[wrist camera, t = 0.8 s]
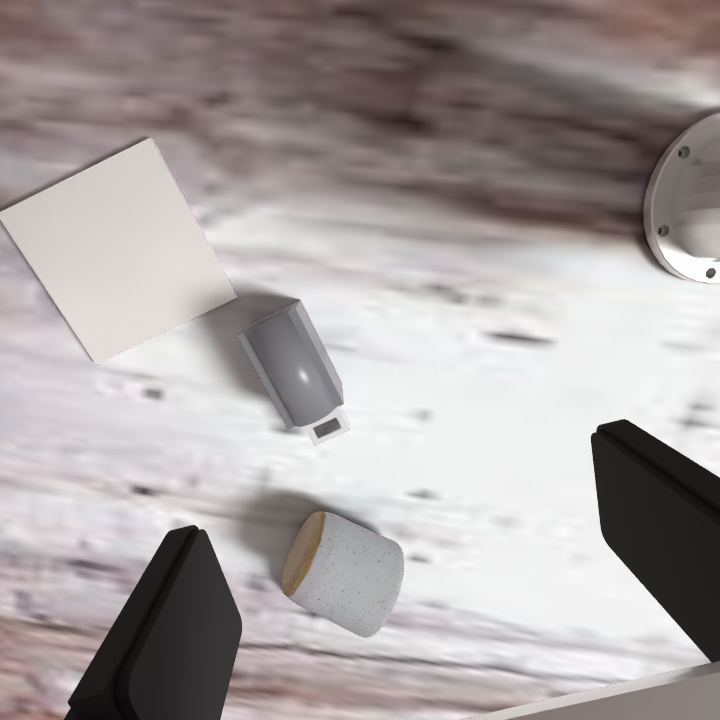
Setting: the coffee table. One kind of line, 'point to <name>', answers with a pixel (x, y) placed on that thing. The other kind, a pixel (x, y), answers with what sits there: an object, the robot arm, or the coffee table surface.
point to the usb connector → (297, 372)
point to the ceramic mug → (343, 573)
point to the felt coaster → (120, 251)
